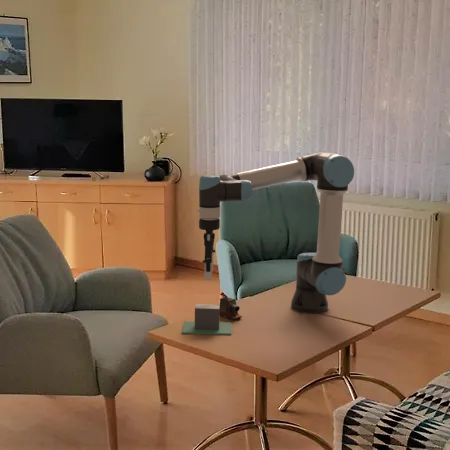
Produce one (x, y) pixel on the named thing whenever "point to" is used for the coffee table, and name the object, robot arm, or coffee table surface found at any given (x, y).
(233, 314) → the electronic device
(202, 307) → the block
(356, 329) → the coffee table surface
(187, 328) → the header board
